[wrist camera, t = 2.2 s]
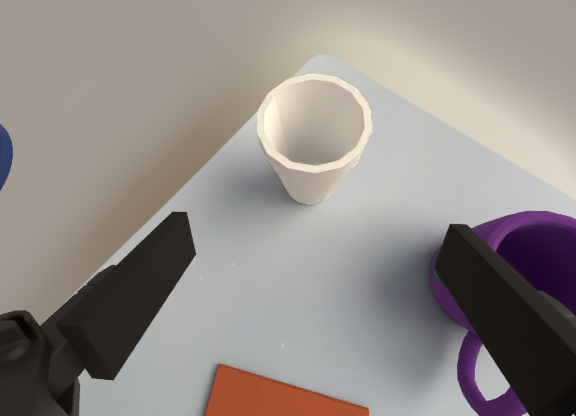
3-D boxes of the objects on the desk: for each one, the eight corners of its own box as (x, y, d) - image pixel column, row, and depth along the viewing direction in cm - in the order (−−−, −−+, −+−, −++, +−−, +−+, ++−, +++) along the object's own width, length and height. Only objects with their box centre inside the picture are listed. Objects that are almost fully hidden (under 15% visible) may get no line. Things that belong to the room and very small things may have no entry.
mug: (435, 217, 30) (497, 187, 20) (534, 256, 28) (654, 243, 19) (390, 363, 26) (443, 411, 16) (504, 420, 24) (639, 512, 14)
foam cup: (327, 228, 30) (344, 191, 18) (261, 199, 32) (236, 146, 20) (355, 165, 33) (388, 94, 20) (293, 141, 34) (287, 61, 22)
